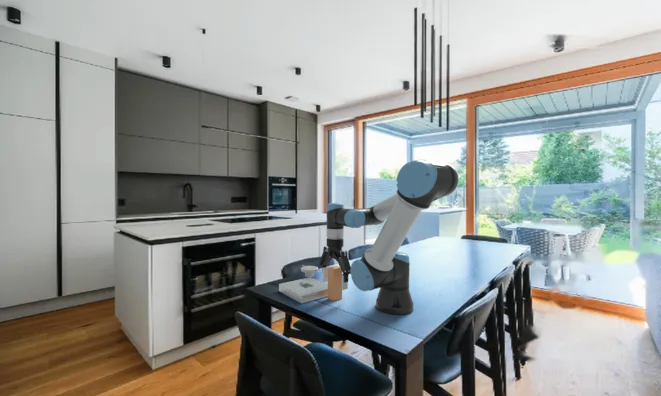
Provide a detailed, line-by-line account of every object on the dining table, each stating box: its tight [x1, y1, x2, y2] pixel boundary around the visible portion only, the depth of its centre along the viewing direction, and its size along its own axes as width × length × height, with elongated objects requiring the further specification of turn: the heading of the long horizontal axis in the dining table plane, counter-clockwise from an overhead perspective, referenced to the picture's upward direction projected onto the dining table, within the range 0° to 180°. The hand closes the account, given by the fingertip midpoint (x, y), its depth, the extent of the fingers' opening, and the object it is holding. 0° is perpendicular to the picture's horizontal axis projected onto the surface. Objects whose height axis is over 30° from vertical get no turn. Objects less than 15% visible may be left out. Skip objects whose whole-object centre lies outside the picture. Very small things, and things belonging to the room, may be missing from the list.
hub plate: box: [278, 277, 328, 305], centre depth 140 cm, size 20×18×4 cm
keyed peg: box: [327, 265, 343, 302], centre depth 133 cm, size 5×4×14 cm
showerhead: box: [300, 264, 319, 278], centre depth 162 cm, size 9×7×10 cm
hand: (334, 285), depth 133 cm, fingers open, 13 cm apart
